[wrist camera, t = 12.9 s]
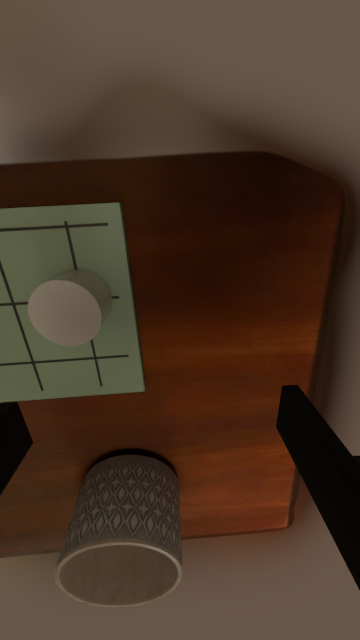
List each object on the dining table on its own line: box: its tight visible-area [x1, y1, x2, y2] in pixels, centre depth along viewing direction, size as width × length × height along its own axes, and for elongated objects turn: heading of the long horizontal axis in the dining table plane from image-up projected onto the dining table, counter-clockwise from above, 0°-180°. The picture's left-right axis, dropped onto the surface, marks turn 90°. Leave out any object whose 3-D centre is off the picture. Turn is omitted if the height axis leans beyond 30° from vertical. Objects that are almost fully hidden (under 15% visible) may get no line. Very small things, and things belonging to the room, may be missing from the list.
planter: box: [54, 455, 182, 608], centre depth 37 cm, size 16×16×13 cm
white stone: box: [28, 270, 112, 346], centre depth 26 cm, size 7×7×5 cm
